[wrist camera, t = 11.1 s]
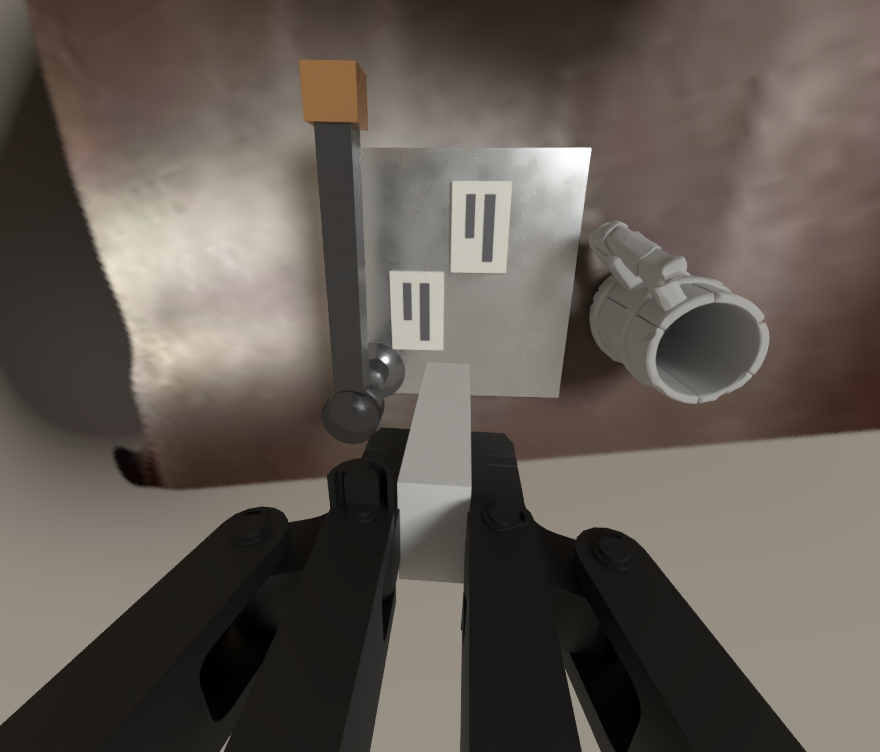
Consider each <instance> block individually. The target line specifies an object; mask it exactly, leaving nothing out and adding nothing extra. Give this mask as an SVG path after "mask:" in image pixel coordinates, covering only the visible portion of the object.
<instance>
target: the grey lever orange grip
mask: <svg viewBox="0 0 880 752" xmlns="http://www.w3.org/2000/svg"><path fill="white" fill-rule="evenodd" d="M299 66H300V78H301V90H302V101H303V113H304V121H305V122H307V123H309V124H311V125H312V126H314V130H315V143H316V156H317V169H318V182H319V195H320V208H321V221H322V234H323V247H324V260H325V273H326V286H327V299H328V312H329V325H330V337H331V350H332V363H333V376H334V389H335V391H334V392H333V393H332V395H331V396H330V398H329V399H328V400H327V402H326V403H325V405H324V407H323V409H322V422H323V425H324V427H325V429H326V430H327V432H328V433H329V434H330V435H331V436H333V437H334V438H335V439H337V440H339V441H341V442H344V443H350V444H357V443H362V442H364V441H366V440H368V439H370V437H371V436H372V435H373V434H374V433H375V432H376V430H377V427H378V425H379V422H380V420H381V417H382V414H383V412H384V399H383V396H382V394H381V393H380V391H379V390H378V389H377V388H376V387H375V386H374V385H372V384H371V383H370V376H369V351H368V326H367V301H366V276H365V251H364V226H363V201H362V176H361V151H360V130H368V114H367V84H366V74H365V73H364V72H363V70H362V69H361V68H360V66H359V65H358V63H357V62H356V61H346V60H299Z"/></svg>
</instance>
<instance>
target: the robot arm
mask: <svg viewBox="0 0 880 752" xmlns="http://www.w3.org/2000/svg"><path fill="white" fill-rule="evenodd" d="M327 481H328V490H329V500H330V510H329V512H328V513H326V514H324V515H322V516H319V517H315V518H312V519H306V520H300V521H295V522H290V523H288V519H287V518H286V516H285V515H284V513H283V512H281V511H280V510H278V509H276V508H271V507H258V508H251V509H247V510H245V511H242V512H240V513H237V514H235V515H233V516H232V517H231V518H229V519H228V520H226V521H225V522H224V523H222V524H221V525H220V526H219V527H218V528H217V529H216V530H215V531H214V532H212V533H211V534H210V535H209V536H208V537H207V538H206V539H205V540H204V541H203V542H201V543H200V544H199V545H198V546H197V547H196V548H195V549H194V550H193V551H192V552H191V553H189V554H188V555H187V556H186V557H185V558H184V559H183V560H182V561H181V562H179V564H178V565H176V566H175V567H174V568H173V569H172V570H171V571H170V572H168V573H167V574H166V575H165V576H164V577H163V578H162V579H161V580H160V581H159V582H158V583H157V584H155V585H154V586H153V587H152V588H151V589H150V590H149V591H148V592H147V593H145V595H143V596H142V597H141V598H140V599H139V600H138V601H137V602H136V603H134V604H133V605H132V606H131V607H130V608H129V609H128V610H127V611H126V612H125V613H124V614H122V615H121V616H120V617H119V618H118V619H117V620H116V621H115V622H114V623H113V624H111V626H109V627H108V628H107V629H106V630H105V631H104V632H103V633H101V634H100V635H99V636H98V637H97V638H96V639H95V640H94V641H93V642H92V643H91V644H89V645H88V646H87V647H86V648H85V649H84V650H83V651H82V652H81V653H79V654H78V655H77V656H76V657H75V658H74V659H73V660H72V661H71V662H70V663H69V664H67V666H65V667H64V668H63V669H62V670H61V671H60V672H59V673H58V674H57V675H55V676H54V677H53V678H52V679H51V680H50V681H49V682H48V683H47V684H46V685H44V686H43V687H42V688H41V689H40V690H39V691H38V692H37V693H36V694H35V695H33V696H32V697H31V698H30V699H29V700H28V701H27V702H26V703H25V704H23V705H22V706H21V707H20V708H19V709H18V710H17V711H16V712H15V713H14V714H13V715H11V716H10V717H9V718H8V719H7V720H6V721H5V722H4V723H3V724H2V725H0V752H220V750H221V749H222V747H223V746H224V744H225V742H226V741H227V739H228V738H229V736H230V735H231V736H230V739H229V741H228V743H227V745H226V748H225V750H224V752H370V748H371V741H372V736H373V730H374V725H375V719H376V713H377V708H378V701H379V695H380V690H381V684H382V679H383V673H384V667H385V661H386V656H387V650H388V644H389V638H390V632H391V627H392V621H393V615H394V610H395V604H396V580H397V575H398V570H399V579H411V580H424V581H437V582H451V583H464V593H463V607H462V621H461V630H462V673H461V674H462V675H461V738H460V739H461V740H460V752H582V751H581V746H580V741H579V736H578V731H577V727H576V721H575V717H574V712H573V707H572V702H571V697H570V692H569V688H568V682H567V677H566V672H565V669H566V671H567V674H568V676H569V678H570V680H571V683H572V685H573V688H574V690H575V692H576V695H577V697H578V699H579V702H580V704H581V706H582V708H583V711H584V713H585V716H586V718H587V720H588V722H589V725H590V727H591V729H592V732H593V734H594V736H595V739H596V741H597V743H598V746H599V748H600V750H601V752H806V751H805V749H804V748H803V747H802V746H801V744H800V743H799V742H798V741H797V739H796V738H795V737H794V736H793V734H792V733H791V732H790V731H789V729H788V728H787V727H786V726H785V724H784V723H783V722H782V721H781V720H780V718H779V717H778V716H777V714H776V713H775V712H774V711H773V710H772V708H771V707H770V706H769V704H768V703H767V702H766V701H765V700H764V698H763V697H762V696H761V694H760V693H759V692H758V691H757V689H756V688H755V687H754V686H753V684H752V683H751V682H750V681H749V679H748V678H747V677H746V676H745V675H744V673H743V672H742V671H741V669H740V668H739V667H738V666H737V665H736V663H735V662H734V661H733V659H732V658H731V657H730V656H729V654H728V653H727V652H726V651H725V649H724V648H723V647H722V646H721V644H720V643H719V642H718V641H717V639H716V638H715V637H714V636H713V634H712V633H711V632H710V631H709V629H708V628H707V627H706V626H705V624H704V623H703V622H702V621H701V619H700V618H699V617H698V616H697V614H696V613H695V612H694V611H693V610H692V608H691V607H690V606H689V604H688V603H687V602H686V601H685V599H684V598H683V597H682V596H681V594H680V593H679V592H678V591H677V589H676V588H675V587H674V586H673V585H672V583H671V582H670V581H669V579H668V578H667V577H666V576H665V574H664V573H663V572H662V571H661V569H660V568H659V567H658V565H657V564H656V563H655V562H654V560H652V558H651V557H650V555H649V554H648V553H647V552H646V551H645V549H643V547H641V546H640V545H639V544H638V543H637V542H636V541H635V540H634V539H632V538H630V537H628V536H627V535H625V534H623V533H622V532H619V531H616V530H612V529H609V528H596V527H594V528H591V529H588V530H584V531H583V532H582V533H581V534H580V535H579V536H578V537H577V539H576V540H575V539H571V538H568V537H565V536H562V535H559V534H556V533H554V532H551V531H549V530H546V529H545V528H543V527H542V526H540V525H539V524H538V523H536V522H535V521H534V519H533V517H532V515H531V513H530V512H529V511H528V510H527V509H526V507H525V504H524V498H523V493H522V488H521V483H520V477H519V472H518V468H517V461H516V458H515V450H514V445H513V443H512V442H511V441H510V440H509V438H508V437H507V436H506V435H505V434H504V433H489V432H471V414H470V364H455V363H435V362H427V364H426V368H425V372H424V376H423V380H422V384H421V388H420V392H419V396H418V400H417V404H416V409H415V413H414V417H413V421H412V425H411V429H397V428H380V429H379V430H378V431H377V432H375V433H374V434H373V435H372V436H371V437H370V439H369V441H368V443H367V446H366V450H365V451H364V453H363V456H362V458H360V459H353V460H349V461H346V462H343V463H341V464H339V465H338V466H336V467H334V468H333V469H332V470H331V471H330V473H329V474H328V475H327ZM231 733H232V734H231Z"/></svg>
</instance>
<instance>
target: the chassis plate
mask: <svg viewBox="0 0 880 752" xmlns="http://www.w3.org/2000/svg"><path fill="white" fill-rule="evenodd" d="M360 151H361V176H362V201H363V226H364V251H365V276H366V301H367V326H368V343H372V342H375V343H382V344H385V345H387V346H389V347H391V348H392V325H391V300H390V276H389V271H442V272H444V332H443V350H403V349H394V350H395V351H396V352H397V353H398V354H399V355H400V357H401V359H402V360H403V363H404V366H405V377H404V381H403V383H402V385H401V387H400V388H399V389H398V390H397V391H396V392H395V393H410V394H419V392H420V388H421V384H422V380H423V376H424V372H425V368H426V364H427V362H435V363H455V364H470V395H480V396H515V397H550V398H558V397H559V390H560V382H561V375H562V367H563V359H564V352H565V344H566V337H567V329H568V321H569V314H570V306H571V299H572V291H573V284H574V276H575V268H576V261H577V253H578V246H579V238H580V230H581V223H582V215H583V208H584V200H585V192H586V185H587V177H588V170H589V162H590V155H591V148H360ZM452 181H512V194H511V208H510V223H509V238H508V252H507V267H506V273H456V272H451V227H452Z"/></svg>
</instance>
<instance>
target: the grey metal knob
mask: <svg viewBox="0 0 880 752" xmlns="http://www.w3.org/2000/svg"><path fill="white" fill-rule="evenodd" d="M368 351H369V376H370V383H371V384H372V385H374V386H375V387H376V388H377V389H378V390H379V391H380V393H381V394H382V396H383V397H387V396H390V395H392V394H393V393H395V392H396V391H397V390H398V389H399V388H400V387H401V385H402V383H403V381H404V377H405V366H404V363H403V360H402V359H401V357H400V355H399V354H398V353H397V352H396V351H395V350H394V349H392V348H391V347H389V346H387V345H385V344H382V343H375V342H372V343H368Z"/></svg>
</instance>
